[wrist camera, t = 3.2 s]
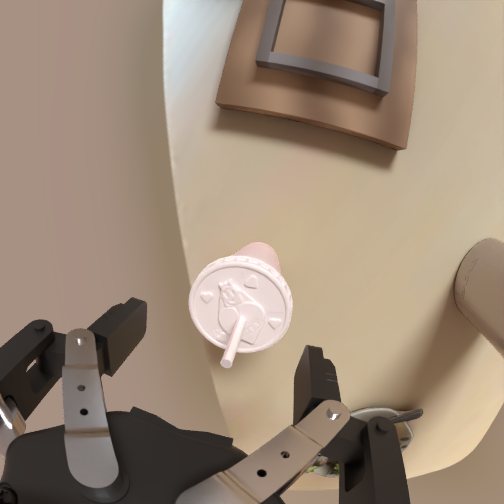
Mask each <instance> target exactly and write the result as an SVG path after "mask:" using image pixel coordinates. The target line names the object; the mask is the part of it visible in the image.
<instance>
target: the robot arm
mask: <svg viewBox="0 0 504 504" xmlns="http://www.w3.org/2000/svg"><path fill="white" fill-rule="evenodd" d="M454 296H455V301H456V304H457V307H458V309H459V310H460V311H461V312H462V313H463V314H464V315H465V316H466V317H467V318H468V319H469V320H470V321H471V323H472V324H473V325H474V326H475V327H476V328H477V329H478V330H479V331H480V332H481V333H482V334H483V335H484V337H485V338H486V339H487V340H488V341H489V342H490V343H491V344H492V345H493V346H494V348H495V349H496V350H497V351H498V352H499V353H500V354H501V356H502V357H503V358H504V243H503V242H501V241H498V240H496V239H486V240H483V241H481V242H479V243H477V244H476V245H475V246H474V247H473V248H472V249H471V250H470V251H469V252H468V254H467V255H466V256H465V258H464V260H463V261H462V263H461V266H460V268H459V270H458V273H457V277H456V281H455V288H454ZM146 318H147V303H146V302H145V301H142V300H139V299H136V298H130V299H129V300H128V301H127V302H126V303H125V304H122V303H120V304H118V305H115V306H113V307H111V308H110V309H109V310H108V311H107V312H106V313H105V314H103V315H102V317H100V318H99V319H98V320H96V321H95V322H94V323H93V324H92V325H91V326H89V327H88V328H87V329H81V328H79V329H74V330H71V331H70V332H69V333H68V334H67V335H66V334H62V333H57V332H54V331H53V326H52V324H51V323H50V322H49V321H47V320H35V321H32V322H31V323H29V324H28V325H27V326H26V327H24V329H22V330H21V331H20V332H19V333H17V334H16V335H15V336H14V337H12V338H11V339H10V340H9V341H8V342H7V343H5V344H4V345H3V346H2V347H1V348H0V457H1V458H2V459H4V460H5V466H4V471H3V475H2V478H1V481H0V504H285V503H284V502H283V500H282V499H281V497H280V495H281V494H283V493H284V492H285V491H286V490H287V489H288V488H289V487H290V486H291V485H292V484H293V483H294V482H295V481H296V480H297V479H298V478H299V477H301V476H302V475H303V474H304V473H305V472H306V471H307V470H308V469H309V468H310V467H311V466H312V465H313V464H314V463H315V462H316V461H317V460H318V459H319V458H320V457H321V456H324V457H327V458H329V459H332V460H335V461H338V462H339V504H410V498H409V492H408V485H407V479H406V474H405V468H404V463H403V458H402V453H401V448H400V444H399V439H398V435H397V430H396V427H395V425H394V424H393V422H392V421H390V420H389V419H387V418H385V417H381V416H375V417H373V418H371V419H370V420H369V421H368V422H366V421H363V420H360V419H357V418H354V417H352V416H351V415H350V411H349V409H348V408H347V407H346V406H345V405H344V404H343V403H341V398H340V392H339V386H338V382H337V381H338V380H337V376H336V370H335V366H334V365H333V363H332V362H331V361H330V359H324V357H323V351H322V348H320V347H315V346H310V345H306V347H305V349H304V351H303V354H302V356H301V359H300V361H299V364H298V366H297V369H296V372H295V376H294V413H293V425H290V426H288V427H287V428H286V429H284V430H283V431H282V432H281V433H279V434H278V435H277V436H275V437H274V438H273V439H271V440H270V441H269V442H267V443H266V444H265V445H263V446H262V447H261V448H259V449H258V450H256V451H255V452H253V453H252V454H251V455H249V456H248V455H247V454H246V453H244V452H243V451H242V450H240V449H238V448H236V447H234V446H232V442H233V438H229V437H225V436H221V435H217V434H212V433H209V432H201V431H190V430H182V429H178V428H176V427H175V426H173V425H171V424H169V423H168V422H166V421H164V420H163V419H161V418H159V417H158V416H156V415H154V414H151V413H149V412H146V411H143V410H141V409H139V408H136V407H133V408H132V409H131V411H130V412H123V411H111V412H107V409H106V404H105V399H104V393H103V388H102V382H101V376H102V375H103V374H104V373H105V374H107V375H109V376H111V377H112V376H113V374H114V373H115V372H116V371H117V370H118V368H119V367H120V366H121V365H122V363H123V362H124V361H125V360H126V358H127V357H128V356H129V355H130V353H131V352H132V351H133V350H134V348H135V347H136V346H137V345H138V343H139V342H140V341H141V340H142V338H143V337H144V334H145V332H146V320H147V319H146ZM34 360H36V363H35V364H34V365H33V366H32V367H31V368H30V369H29V370H28V371H27V372H26V370H27V367H28V366H29V365H30V364H31V363H32V362H33V361H34ZM60 377H62V386H63V387H62V389H63V409H64V422H65V424H64V425H60V426H56V427H52V428H48V429H44V430H39V431H35V432H30V433H26V434H24V432H25V430H26V424H25V421H26V420H27V418H28V417H29V416H30V414H31V413H32V412H33V411H34V409H35V408H36V407H37V405H38V404H39V403H40V402H41V400H42V399H43V398H44V397H45V396H46V394H47V393H48V392H49V391H50V389H51V388H52V387H53V386H54V384H55V383H56V382H57V381H58V379H60Z"/></svg>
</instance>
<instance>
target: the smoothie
mask: <svg viewBox="0 0 504 504" xmlns="http://www.w3.org/2000/svg"><path fill="white" fill-rule="evenodd" d="M292 305H293V301H292V296H291V292H290V289H289V287H288V285H287V283H286V282H285V280H284V278H283V277H282V274H281V270H280V266H279V262H278V258H277V255H276V253H275V251H274V250H273V249H272V248H271V247H270V246H269V245H267V244H265V243H261V242H253V243H250V244H248V245H246V246H245V247H243V248H242V249H240V250H239V251H237V252H236V253H234V254H233V255H231V256H229V257H224V258H220V259H218V260H216V261H214V262H212V263H211V264H209V265H207V266H206V267H205V268H204V269H203V270H202V271H201V272H200V274H199V275H198V277H197V279H196V280H195V282H194V284H193V286H192V288H191V291H190V295H189V311H190V314H191V318H192V320H193V322H194V324H195V326H196V328H197V329H198V330H199V332H200V333H201V334H202V335H203V336H204V337H205V338H206V339H207V340H208V341H210V342H211V343H213V344H214V345H216V346H218V347H220V348H222V349H224V350H225V352H224V354H223V357H222V360H221V365H222V366H223V367H224V368H230V367H231V366H232V364H233V361H234V357H235V354H236V353H254V352H259V351H262V350H265V349H267V348H269V347H271V346H272V345H274V344H275V343H277V342H278V341H279V340H280V339H281V338H282V337H283V335H284V334H285V332H286V331H287V329H288V327H289V324H290V320H291V315H292Z"/></svg>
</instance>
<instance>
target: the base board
mask: <svg viewBox="0 0 504 504" xmlns="http://www.w3.org/2000/svg"><path fill="white" fill-rule="evenodd" d="M416 64H417V0H244V1H243V4H242V7H241V10H240V13H239V16H238V20H237V23H236V26H235V30H234V33H233V37H232V40H231V44H230V47H229V51H228V54H227V58H226V62H225V66H224V69H223V73H222V77H221V81H220V85H219V89H218V94H217V98H216V102H215V103H216V104H217V105H218V106H220V107H221V108H226V109H233V110H240V111H247V112H253V113H259V114H265V115H270V116H276V117H281V118H286V119H290V120H295V121H300V122H304V123H308V124H312V125H316V126H320V127H324V128H328V129H332V130H336V131H339V132H343V133H346V134H350V135H353V136H356V137H360V138H363V139H366V140H369V141H372V142H375V143H378V144H381V145H384V146H387V147H390V148H393V149H395V150H403V149H406V147H407V142H408V136H409V129H410V123H411V115H412V108H413V99H414V90H415V78H416Z"/></svg>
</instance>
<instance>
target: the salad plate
mask: <svg viewBox="0 0 504 504" xmlns="http://www.w3.org/2000/svg"><path fill="white" fill-rule="evenodd" d="M422 414H423V409H414V410H410V411H397V410H394V409H391V408H374V407H369V408H364V409H361V410H358V411H354V412H351V413H350V415H351V416H352V417H354V418H357V419H360V420H363V421H366V422H368V421H369V420H370V419H371V418H373V417H375V416H381V417H385V418H387V419H389V420H390V421H392V422H393V424H394V425H395V427H396V430H397V435H398V439H399V444H400V448H401V452H403V451H404V450H405V449H406V448H407V447H408V445H409V444H410V443H411V441H412V439H413V433H412V431H411V429H410V426H409V425H408V424H407V421H410V420H414V419H417V418H419V417H421V416H422ZM328 461H330V462H328ZM313 471H314V472H315V473H317V474H319V475H321V476H325V477H339V462H338V461H335V460H332V459H329V458H327V457H324V456H321V457H320V458H319V459H318V460H317V461H316V462H315V463H314V464H313V465H312V466H311V467H310V468H309V469H308V470H307V471H306V473H308V472H313Z"/></svg>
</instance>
